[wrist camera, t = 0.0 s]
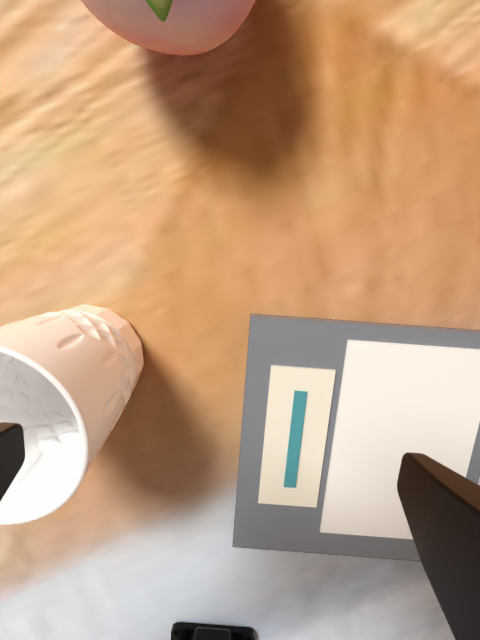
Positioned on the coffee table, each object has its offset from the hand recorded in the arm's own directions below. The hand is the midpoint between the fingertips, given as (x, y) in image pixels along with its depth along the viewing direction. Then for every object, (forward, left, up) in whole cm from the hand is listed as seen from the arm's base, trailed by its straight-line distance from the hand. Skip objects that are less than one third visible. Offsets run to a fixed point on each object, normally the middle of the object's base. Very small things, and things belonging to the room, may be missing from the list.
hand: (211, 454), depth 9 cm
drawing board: (-8, -9, -15) cm, 19 cm away
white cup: (-3, +9, -15) cm, 18 cm away
